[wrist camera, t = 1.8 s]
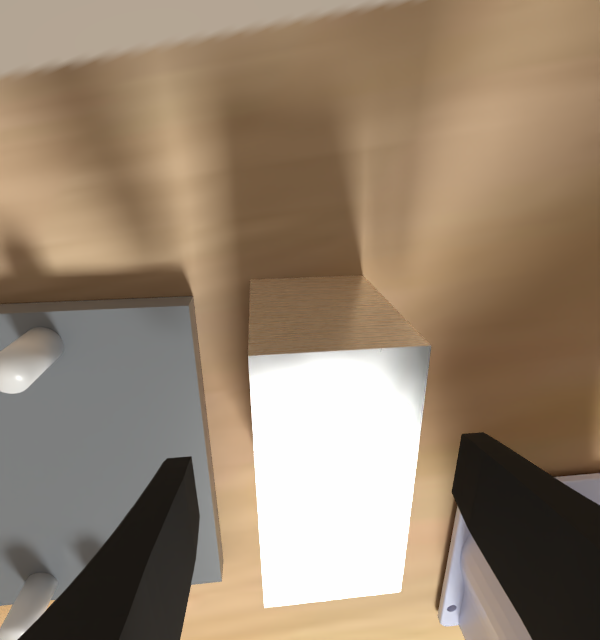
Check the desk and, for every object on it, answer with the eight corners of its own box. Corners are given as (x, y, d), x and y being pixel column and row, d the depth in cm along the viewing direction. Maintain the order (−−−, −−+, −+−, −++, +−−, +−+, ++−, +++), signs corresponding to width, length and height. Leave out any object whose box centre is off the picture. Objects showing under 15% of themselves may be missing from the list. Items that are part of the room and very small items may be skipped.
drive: (353, 453, 17) (400, 591, 12) (260, 461, 17) (264, 608, 11) (362, 274, 14) (431, 345, 9) (250, 278, 14) (248, 356, 8)
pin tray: (223, 560, 18) (218, 630, 16) (-54, 589, 17) (-113, 670, 15) (193, 296, 14) (177, 329, 11) (-192, 312, 13) (-319, 353, 10)
